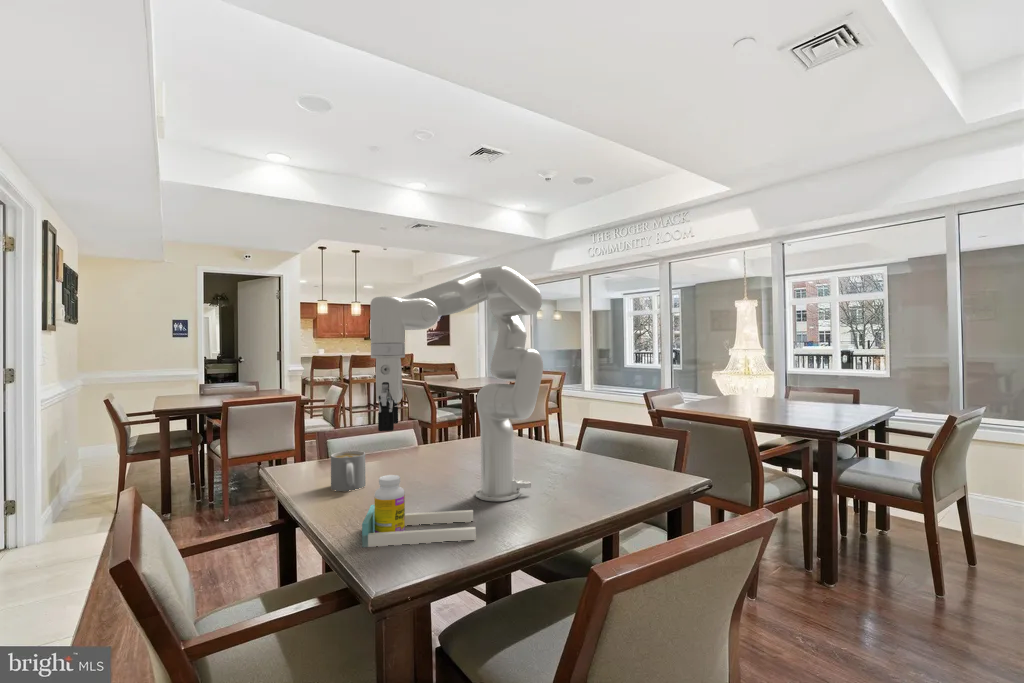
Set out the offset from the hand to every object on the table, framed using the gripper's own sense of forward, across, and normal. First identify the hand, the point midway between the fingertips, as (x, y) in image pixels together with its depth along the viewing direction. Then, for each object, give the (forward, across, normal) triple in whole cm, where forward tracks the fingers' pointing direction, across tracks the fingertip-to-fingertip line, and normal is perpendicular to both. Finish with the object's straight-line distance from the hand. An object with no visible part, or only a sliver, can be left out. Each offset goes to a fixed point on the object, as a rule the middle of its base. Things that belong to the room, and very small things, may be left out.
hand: (388, 427), depth 109 cm
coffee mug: (+24, +39, +17) cm, 49 cm away
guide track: (+24, 0, -6) cm, 25 cm away
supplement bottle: (+24, 0, 0) cm, 24 cm away
